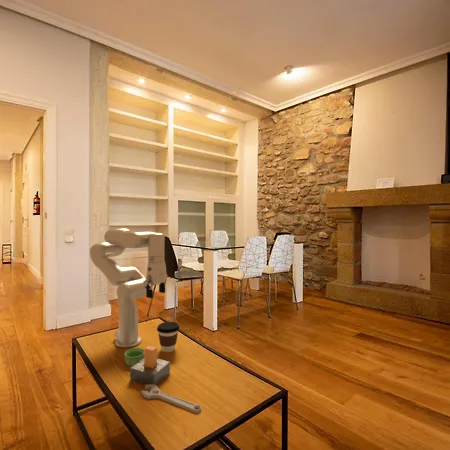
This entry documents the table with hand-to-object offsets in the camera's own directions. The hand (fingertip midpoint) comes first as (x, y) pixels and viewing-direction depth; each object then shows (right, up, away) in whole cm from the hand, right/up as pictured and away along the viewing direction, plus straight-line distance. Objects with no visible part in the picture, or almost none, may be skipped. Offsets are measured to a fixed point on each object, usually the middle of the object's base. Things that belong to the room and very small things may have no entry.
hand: (156, 295), depth 136 cm
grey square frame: (+2, -29, -18) cm, 34 cm away
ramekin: (-8, -29, -7) cm, 31 cm away
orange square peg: (+2, -29, -18) cm, 34 cm away
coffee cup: (+5, -28, +5) cm, 29 cm away
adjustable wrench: (+13, -30, -33) cm, 47 cm away
